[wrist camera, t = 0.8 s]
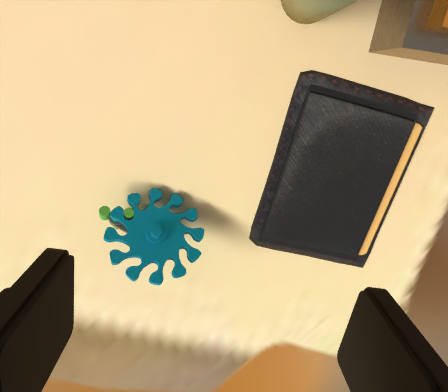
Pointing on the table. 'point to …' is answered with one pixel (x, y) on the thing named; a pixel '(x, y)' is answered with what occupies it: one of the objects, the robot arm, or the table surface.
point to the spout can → (312, 9)
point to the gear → (152, 235)
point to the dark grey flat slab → (336, 168)
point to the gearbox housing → (412, 30)
